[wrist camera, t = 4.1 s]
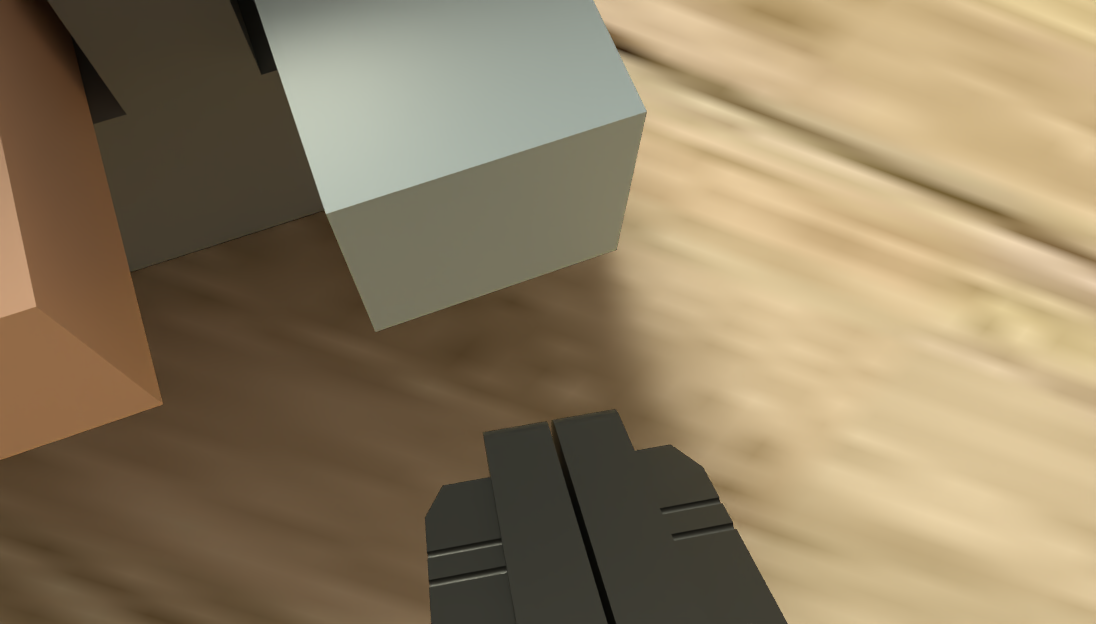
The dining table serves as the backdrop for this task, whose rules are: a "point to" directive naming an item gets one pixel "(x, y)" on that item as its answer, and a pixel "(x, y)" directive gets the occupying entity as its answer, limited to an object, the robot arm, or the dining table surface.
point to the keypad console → (188, 122)
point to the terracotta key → (59, 251)
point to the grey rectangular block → (458, 139)
